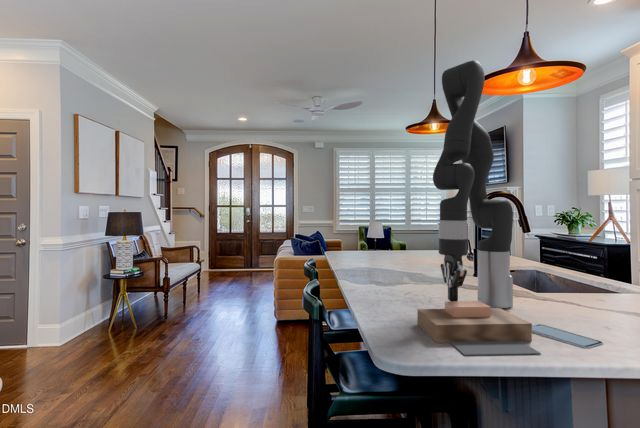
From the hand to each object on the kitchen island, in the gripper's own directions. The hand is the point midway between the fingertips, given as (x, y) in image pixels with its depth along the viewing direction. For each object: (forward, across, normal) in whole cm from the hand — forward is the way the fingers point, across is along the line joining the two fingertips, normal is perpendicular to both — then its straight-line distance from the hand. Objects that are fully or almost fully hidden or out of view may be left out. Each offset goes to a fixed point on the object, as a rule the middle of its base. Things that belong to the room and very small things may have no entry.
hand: (452, 300), depth 103 cm
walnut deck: (+5, -10, 0) cm, 12 cm away
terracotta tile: (+1, -8, 0) cm, 9 cm away
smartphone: (+6, -14, -20) cm, 26 cm away
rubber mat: (+5, -22, 0) cm, 22 cm away
